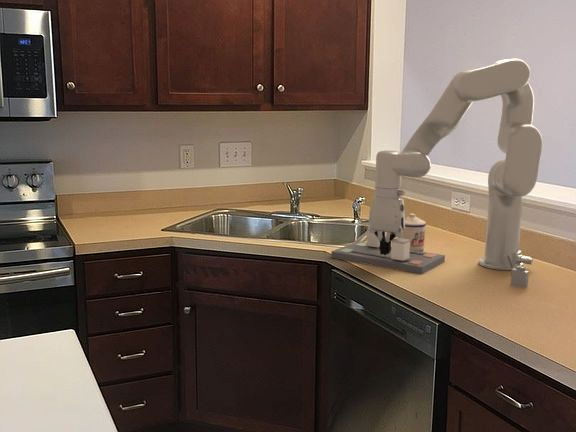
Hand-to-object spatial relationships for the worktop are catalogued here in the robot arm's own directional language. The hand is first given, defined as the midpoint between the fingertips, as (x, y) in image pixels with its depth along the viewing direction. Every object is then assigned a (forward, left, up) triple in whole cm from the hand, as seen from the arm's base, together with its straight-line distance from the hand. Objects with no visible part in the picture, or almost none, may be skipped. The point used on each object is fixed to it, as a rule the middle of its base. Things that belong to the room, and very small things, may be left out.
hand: (384, 253), depth 195 cm
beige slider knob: (-5, 0, -1) cm, 5 cm away
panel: (+1, -5, -3) cm, 6 cm away
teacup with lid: (+1, -24, -3) cm, 24 cm away
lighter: (-38, -2, -3) cm, 38 cm away
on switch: (+8, -10, -1) cm, 13 cm away
